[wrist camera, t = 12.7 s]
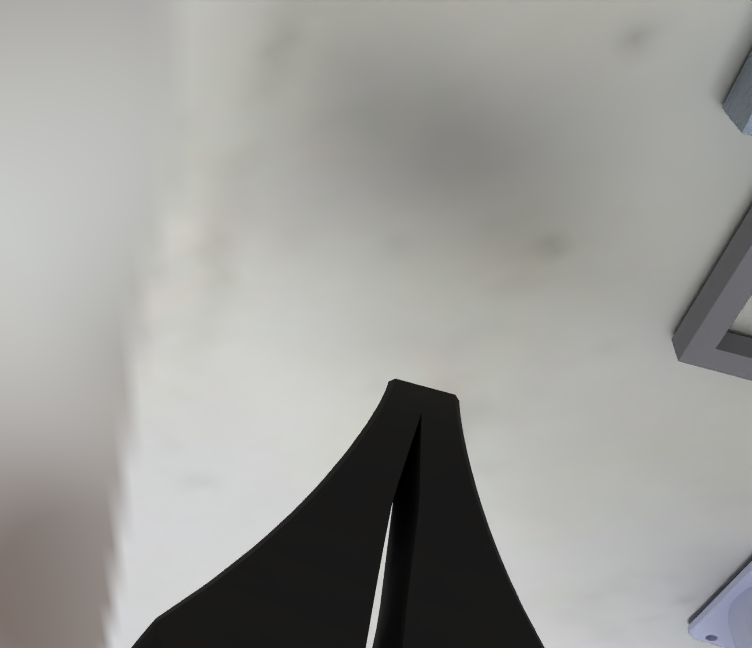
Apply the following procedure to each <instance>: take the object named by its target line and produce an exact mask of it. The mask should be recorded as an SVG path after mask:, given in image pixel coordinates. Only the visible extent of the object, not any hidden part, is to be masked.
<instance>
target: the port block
mask: <svg viewBox="0 0 752 648" xmlns="http://www.w3.org/2000/svg"><path fill="white" fill-rule="evenodd" d="M722 109H723V110H724V111H725V112H726V114H727V115H728V116H729V117H730V119H731V120H732V121H733V122H734V124H735V125H736V126H737V127H738V129H739V130H740V131H741V132H742V133H744V134H748V135H752V50H751V52H750V54H749V56H748V58H747V60H746V62H745V64H744V66H743V68H742V70H741V72H740V74H739V75H738V77H737V79H736V81H735V83H734V85H733V87H732V89H731V91H730V93H729V95H728V97H727V99H726V101H725V102H724V104H723V106H722Z"/></svg>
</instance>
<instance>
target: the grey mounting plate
mask: <svg viewBox="0 0 752 648" xmlns="http://www.w3.org/2000/svg"><path fill="white" fill-rule="evenodd" d="M751 295H752V207H751V208H750V210H749V212H748V213H747V215H746V217H745V218H744V220H743V222H742V223H741V225H740V227H739V228H738V230H737V232H736V233H735V235H734V237H733V238H732V240H731V242H730V243H729V245H728V246H727V248H726V250H725V251H724V253H723V255H722V256H721V258H720V260H719V261H718V263H717V265H716V266H715V268H714V270H713V271H712V273H711V275H710V276H709V278H708V279H707V281H706V283H705V284H704V286H703V288H702V289H701V291H700V293H699V294H698V296H697V298H696V299H695V301H694V303H693V304H692V306H691V308H690V309H689V311H688V312H687V314H686V316H685V317H684V319H683V321H682V322H681V324H680V326H679V327H678V329H677V331H676V332H675V334H674V336H673V337H672V342H673V346H674V349H675V352H676V355H677V359H678V361H680V362H683V363H687V364H691V365H695V366H699V367H702V368H706V369H710V370H714V371H718V372H721V373H725V374H729V375H733V376H737V377H740V378H744V379H748V380H752V338H748V337H744V336H741V335H737V334H733V333H729V332H727V331H728V329H729V328H730V326H731V325H732V323H733V322H734V320H735V319H736V317H737V316H738V314H739V313H740V311H741V310H742V308H743V307H744V305H745V304H746V302H747V301H748V299H749V298H750V296H751Z"/></svg>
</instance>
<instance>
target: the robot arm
mask: <svg viewBox="0 0 752 648" xmlns="http://www.w3.org/2000/svg"><path fill="white" fill-rule="evenodd" d="M392 503H393V506H392ZM391 506H392V514H391V522H390V530H389V538H388V546H387V555H386V563H385V571H384V579H383V587H382V596H381V604H380V610H379V616H378V622H377V628H376V633H375V638H374V643H373V647H372V648H544V646H543V644H542V642H541V640H540V638H539V636H538V635H537V633H536V631H535V629H534V627H533V625H532V623H531V621H530V620H529V618H528V616H527V614H526V612H525V610H524V608H523V606H522V604H521V602H520V600H519V598H518V596H517V593H516V591H515V589H514V587H513V585H512V583H511V581H510V578H509V576H508V574H507V571H506V569H505V567H504V564H503V562H502V560H501V557H500V555H499V552H498V550H497V547H496V545H495V542H494V539H493V537H492V534H491V531H490V529H489V526H488V523H487V520H486V517H485V514H484V511H483V508H482V505H481V502H480V498H479V495H478V492H477V488H476V485H475V481H474V477H473V474H472V470H471V466H470V462H469V458H468V454H467V449H466V445H465V440H464V435H463V429H462V423H461V416H460V407H459V400H458V398H457V397H456V395H454V394H450V393H447V392H443V391H439V390H435V389H432V388H428V387H424V386H421V385H417V384H413V383H410V382H406V381H402V380H398V379H394V380H391V381H389V382H388V385H387V388H386V391H385V393H384V395H383V397H382V399H381V401H380V403H379V405H378V406H377V408H376V410H375V411H374V413H373V415H372V416H371V418H370V419H369V421H368V423H367V424H366V426H365V427H364V428H363V430H362V431H361V433H360V434H359V435H358V437H357V438H356V439H355V441H354V442H353V444H352V445H351V446H350V448H349V449H348V450H347V452H346V453H345V454H344V455H343V457H342V458H341V459H340V460H339V461H338V463H337V464H336V465H335V466H334V467H333V469H332V470H331V471H330V472H329V473H328V474H327V476H326V477H325V478H324V479H323V480H322V481H321V483H320V484H319V485H318V486H317V487H316V488H315V489H314V490H313V491H312V492H311V493H310V494H309V495H308V496H307V498H306V499H305V500H304V501H303V502H302V503H301V504H300V505H299V506H298V507H297V508H296V509H295V510H294V511H293V512H292V513H291V514H290V515H288V516H287V517H286V518H285V519H284V520H283V521H282V522H281V523H280V524H279V525H278V526H277V527H275V528H274V529H273V530H272V531H271V532H270V533H269V534H268V535H267V536H266V537H264V538H263V539H262V540H261V541H260V542H259V543H258V544H256V545H255V546H254V547H253V548H252V549H250V550H249V551H248V552H247V553H245V554H244V555H243V556H242V557H240V558H239V559H238V560H236V561H235V562H234V563H233V564H231V565H230V566H229V567H228V568H226V569H225V570H224V571H222V572H221V573H220V574H219V575H217V576H216V577H215V578H214V579H212V580H211V581H209V582H208V583H207V584H205V585H204V586H203V587H201V588H200V589H198V590H197V591H195V592H194V593H192V594H191V595H189V596H188V597H187V598H185V599H184V600H182V601H181V602H179V603H178V604H176V605H175V606H173V607H172V608H170V609H169V610H167V611H166V612H165V613H163V614H162V615H160V616H159V617H157V618H156V619H155V620H154V621H153V622H152V624H151V625H150V626H149V627H148V628H147V629H146V631H145V632H144V633H143V634H142V635H141V636H140V638H139V639H138V640H137V641H136V643H135V644H134V645H133V646H132V648H366V643H367V637H368V631H369V625H370V619H371V614H372V608H373V602H374V596H375V591H376V585H377V580H378V574H379V569H380V563H381V558H382V553H383V547H384V542H385V537H386V532H387V526H388V521H389V516H390V511H391ZM688 630H689V634H690V636H691V637H692V638H694V639H696V640H700V641H703V642H707V643H710V644H714V645H717V646H721V647H724V648H752V561H751V562H750V563H749V564H748V565H747V566H746V567H745V568H744V569H743V570H742V571H741V572H740V573H739V574H738V575H737V576H736V577H735V578H734V580H733V581H732V582H731V583H730V584H729V585H728V586H727V587H726V588H725V589H724V590H723V591H722V592H721V593H720V594H719V595H718V596H717V597H716V598H715V599H714V600H713V601H712V602H711V603H710V604H709V605H708V606H707V607H706V608H705V609H704V610H703V611H702V612H701V613H700V614H699V615H698V616H697V617H696V618H695V619H694V620H693V621H692V622H691V623H690V624H689V626H688Z"/></svg>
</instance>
